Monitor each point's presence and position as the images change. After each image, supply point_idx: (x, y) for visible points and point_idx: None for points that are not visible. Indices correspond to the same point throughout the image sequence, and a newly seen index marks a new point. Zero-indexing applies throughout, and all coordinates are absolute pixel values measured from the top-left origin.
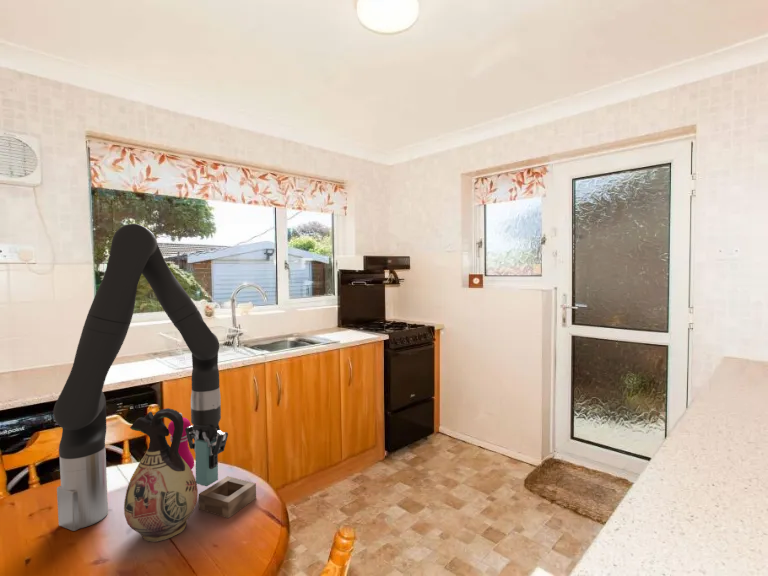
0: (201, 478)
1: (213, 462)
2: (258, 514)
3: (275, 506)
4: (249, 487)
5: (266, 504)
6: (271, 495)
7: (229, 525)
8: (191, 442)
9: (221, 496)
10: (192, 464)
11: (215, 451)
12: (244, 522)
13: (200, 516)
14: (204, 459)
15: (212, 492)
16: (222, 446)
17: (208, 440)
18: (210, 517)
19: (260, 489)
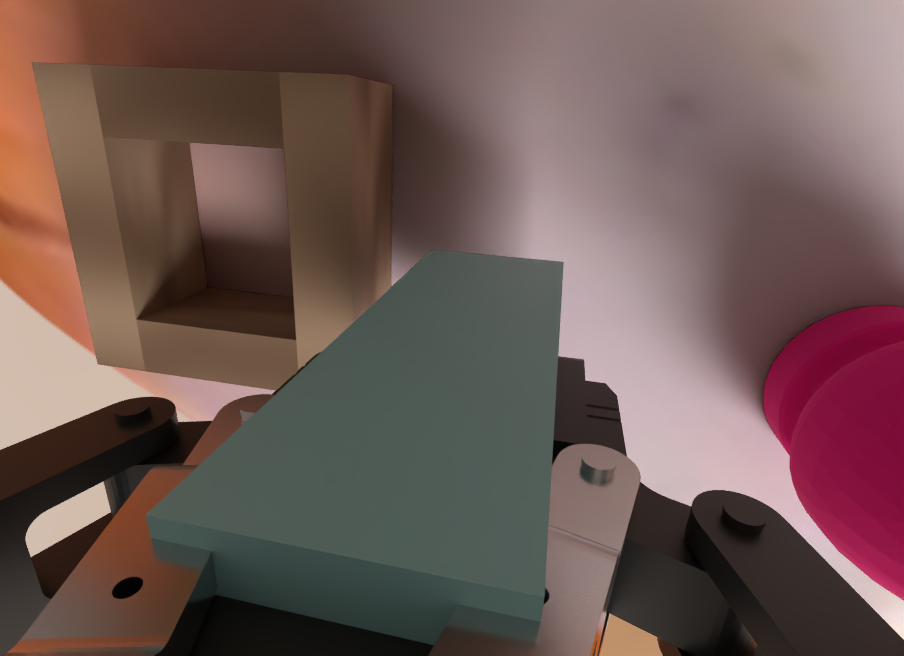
0: (482, 271)
1: (301, 369)
2: (29, 180)
3: (22, 281)
4: (86, 304)
5: (74, 283)
6: (122, 370)
7: (67, 7)
8: (756, 597)
9: (148, 120)
10: (801, 486)
11: (116, 428)
12: (24, 76)
13: (311, 10)
14: (370, 345)
15: (259, 145)
16: (73, 552)
17: (70, 584)
18: (240, 31)
19: (220, 408)
